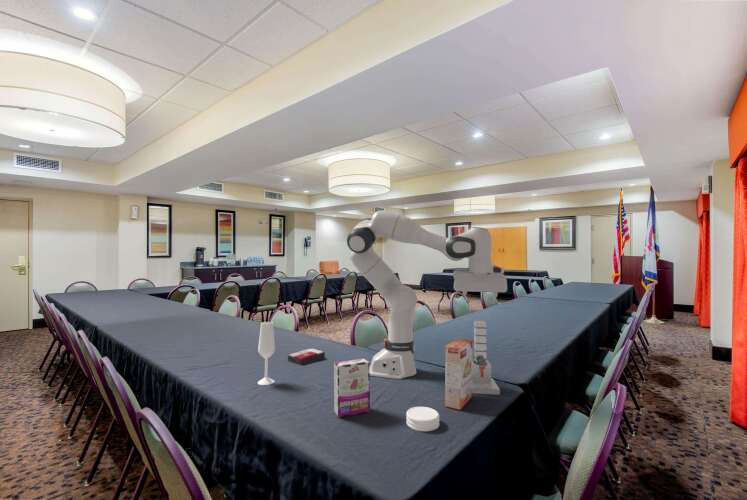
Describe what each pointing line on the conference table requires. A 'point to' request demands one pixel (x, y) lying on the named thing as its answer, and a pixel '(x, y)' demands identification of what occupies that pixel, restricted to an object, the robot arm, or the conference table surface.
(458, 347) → the cracker box
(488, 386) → the housing
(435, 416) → the coaster
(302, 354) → the flat red white box
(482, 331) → the column
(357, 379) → the candy bar box
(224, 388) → the conference table surface
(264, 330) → the champagne flute
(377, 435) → the conference table surface
